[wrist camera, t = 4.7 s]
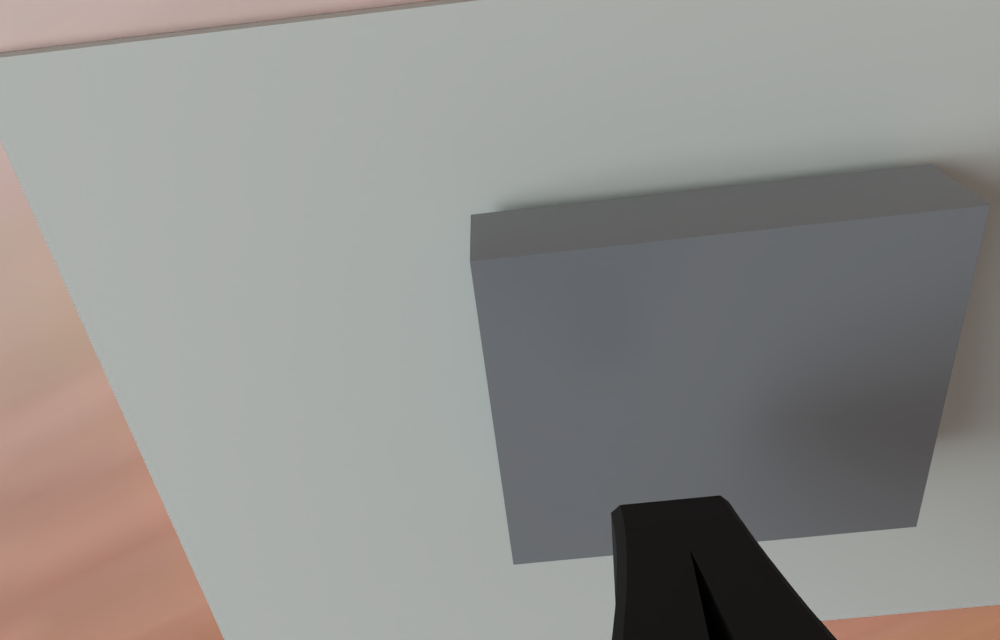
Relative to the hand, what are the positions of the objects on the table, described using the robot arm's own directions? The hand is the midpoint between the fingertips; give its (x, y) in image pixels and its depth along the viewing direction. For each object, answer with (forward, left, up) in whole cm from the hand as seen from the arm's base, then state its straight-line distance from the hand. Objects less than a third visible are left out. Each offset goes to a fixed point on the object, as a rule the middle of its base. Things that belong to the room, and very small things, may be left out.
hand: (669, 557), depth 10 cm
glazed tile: (-2, 0, -4) cm, 4 cm away
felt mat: (+1, -1, -5) cm, 5 cm away
